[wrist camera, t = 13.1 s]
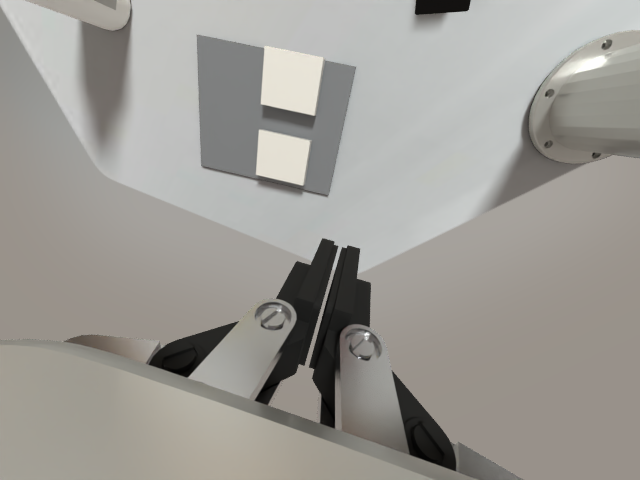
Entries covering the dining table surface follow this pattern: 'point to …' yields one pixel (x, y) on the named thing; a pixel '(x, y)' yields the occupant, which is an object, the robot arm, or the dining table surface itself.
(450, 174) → the dining table surface
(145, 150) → the dining table surface
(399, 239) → the dining table surface
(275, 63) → the tile
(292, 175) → the tile
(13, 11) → the dining table surface
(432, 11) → the black slotted bracket
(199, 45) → the mat
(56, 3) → the spray bottle
